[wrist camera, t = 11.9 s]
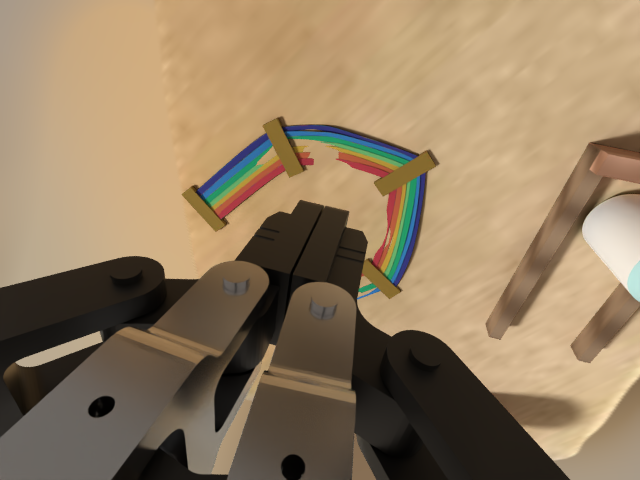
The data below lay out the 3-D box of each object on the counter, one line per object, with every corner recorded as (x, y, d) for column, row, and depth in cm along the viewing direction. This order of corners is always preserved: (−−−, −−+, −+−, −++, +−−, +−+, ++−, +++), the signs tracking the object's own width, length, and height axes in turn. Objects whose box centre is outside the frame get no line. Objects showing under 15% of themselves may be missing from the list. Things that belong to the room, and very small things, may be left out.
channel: (589, 142, 35) (608, 154, 32) (729, 170, 34) (765, 185, 30) (485, 323, 49) (491, 345, 46) (581, 348, 48) (594, 372, 44)
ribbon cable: (361, 43, 35) (183, 191, 49) (360, 43, 34) (179, 194, 48) (489, 252, 44) (309, 329, 58) (491, 256, 43) (307, 333, 57)
